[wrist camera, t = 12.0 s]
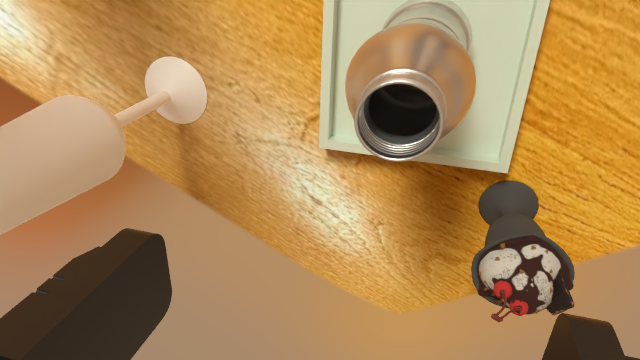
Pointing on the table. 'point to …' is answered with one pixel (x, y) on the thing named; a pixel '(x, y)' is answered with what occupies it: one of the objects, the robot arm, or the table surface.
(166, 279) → the robot arm
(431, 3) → the silver metal bottle
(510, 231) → the sundae
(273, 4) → the table surface
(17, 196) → the champagne flute
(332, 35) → the tray
